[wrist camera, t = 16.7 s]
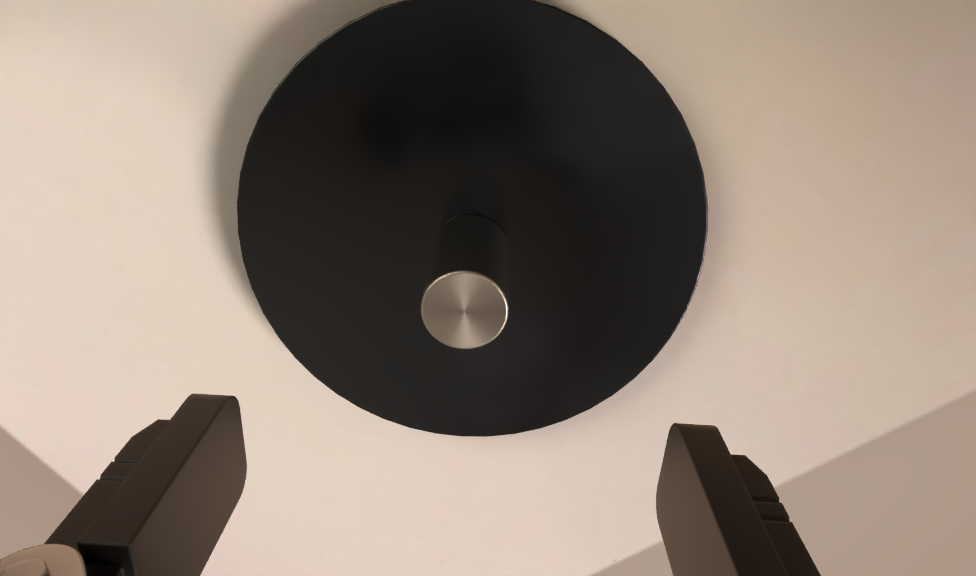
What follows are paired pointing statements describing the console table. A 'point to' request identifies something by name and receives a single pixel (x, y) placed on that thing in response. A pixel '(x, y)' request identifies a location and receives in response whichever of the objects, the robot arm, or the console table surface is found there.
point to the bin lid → (472, 214)
